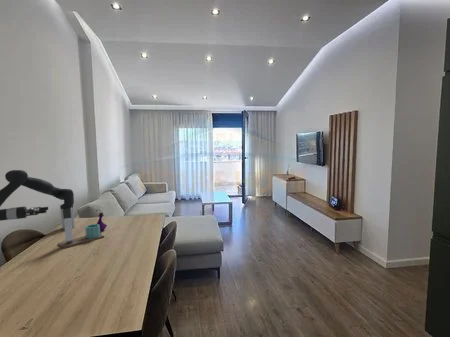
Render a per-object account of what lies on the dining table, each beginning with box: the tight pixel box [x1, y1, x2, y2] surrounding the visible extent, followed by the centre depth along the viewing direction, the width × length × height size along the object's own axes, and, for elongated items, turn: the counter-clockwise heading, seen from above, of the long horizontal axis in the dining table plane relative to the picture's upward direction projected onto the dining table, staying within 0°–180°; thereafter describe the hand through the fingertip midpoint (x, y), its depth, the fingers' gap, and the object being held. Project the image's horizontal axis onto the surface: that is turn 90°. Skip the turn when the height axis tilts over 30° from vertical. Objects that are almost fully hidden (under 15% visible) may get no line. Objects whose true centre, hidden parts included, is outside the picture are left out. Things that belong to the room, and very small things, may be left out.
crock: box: [84, 223, 101, 239], centre depth 192 cm, size 9×9×8 cm
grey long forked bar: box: [63, 208, 74, 244], centre depth 179 cm, size 4×4×24 cm
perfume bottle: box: [95, 208, 108, 233], centre depth 207 cm, size 8×8×18 cm
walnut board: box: [57, 233, 105, 250], centre depth 186 cm, size 12×27×1 cm, turn 138°
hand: (47, 209), depth 172 cm, fingers open, 8 cm apart
